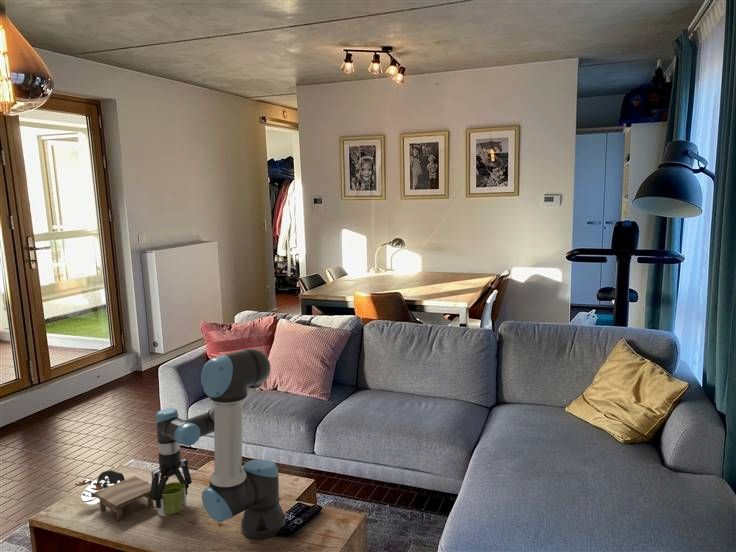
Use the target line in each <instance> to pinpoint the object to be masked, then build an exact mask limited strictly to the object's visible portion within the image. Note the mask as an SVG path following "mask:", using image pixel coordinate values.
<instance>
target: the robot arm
mask: <svg viewBox="0 0 736 552" xmlns="http://www.w3.org/2000/svg"><path fill="white" fill-rule="evenodd" d="M271 367H272V366H271V363H270V360H269V358H268V356H267V355H266V354H265V353H264V352H262V351H261V350H258V349H254V348H251V349H250V348H247V349H244V350H241V351H237V352H232V353H228V354H224V355H222V354H221V355H218V356H216V357H214V358H210V359H209V360H207V362H205V364H204V365H203V368H202V370H201V374H200V380H201V381H200V383H201V387H203V388H202V390H203V392H204V393H205V395H206V396H208V397H209V400H210V401H211V402H212V403H214V404H213V405H212V407H210V409H209V410H208V411H207V412H205V413H201V414H199V415H196V416H193V417H190V418H188V419H182V418H179V413H178V409H176V408H174V407H170V408H169V407H168V408H163V409H160V410H159V411H157V412H156V414H155V416H156V418H155V424H156V426H155V427H156V436H157V437H156V438H157V451H158V455H157V456H158V464H159V467H158V469H157V470H156V471H154V470H152V471H151V473H150V474H151V483H150V484H151V492H150V499H152V500H153V502H154V501H155V507H156V508H157V512H158V515H159V516H161V518H162V517H163V518H164V517H165V512H164V501H163V498H162V494H163V491H164V488H165V485H166V484H167V483H168V481H169V478H170V477H172V476H175V477H176V479H177V480H178V482H180V483H182V484H185V488H184V492H183V499H182V506H187V496H188V494H189V493H188V489H189V488H190V485H191V484H192V483H193V481H192V477H191V473H190V469H189V466H188V465H189V460H188V459H185V458H182V459H181V450H180V449H181V445H184V446H187V447H190V446H193V445H195V444H196V443H197V442H198V441H199V439H201V438H202V437H205V436H206V435H210V434H212V433H213V434H214V442H213V443H214V446H213V447H214V449H213V450H214V472H212V473H211V474H210V476H209V486H207V487H205V489H203V490H202V493H201V502H202V505H203V508H204V510H205V511H206V514H207V515H208V516H209V517H210V519H212V520H213V521H215V522H218V523H222V522H225V521H227V520H231V519H232V518H233V517H235V516H238V514H241V513H242V512H243V515H242V516H243V517H242V518H241V520H240V521H241V522H240V531H241V533H242V535H243V536H245V537H246V538H250V539H254V540H263V539H268V538H269V539H270V538H272V537H274V536H276V535H277V534H276V533H277V532H278V531H279V530H280V529H281V528H282V527H283V525H284V523H285V524H286V516H285V514H284V511H283V508H282V506H281V504H280V491H279V490H280V489H279V488H280V487H279V485H280V484H279V483H280V482H279V475H280V474H279V469H278V465H277V463H276V462H274V461H272V460H269V459H264V458H263V459H262V458H261V459H260V458H259V459H258V458H257V459H251V460H248V461H246V462H244V463H243V403H244V402H245V400H247V398H249V396H250V395H251V394H252V392H254V390H256V389H259V388H261V387H262V385H264V383H265V382H266V381H267V380H268V378H269V377H270V373H271V369H272V368H271ZM180 468H181V470H182V473H181V470H180ZM182 474H183V475H182Z"/></svg>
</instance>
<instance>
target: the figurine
mask: <svg viewBox="0 0 736 552" xmlns="http://www.w3.org/2000/svg"><path fill="white" fill-rule="evenodd" d="M124 480H126V479H125V477H124V474H123V472H118V471H114V470H111V469H110V470H106V471H102V472H100V474H99V475H98V477H97V480H96V479H94V480H91V479H90V478H86V481H85V480H83V481H82V482H81V481H79V483H75V484H74V485H75V486H76V487H82V486H85V485H87V484H89V485H87V487H86V488H84V489H83V491H82V493H81V495H80V499H81V501H82V502H83V503H84V504H87V505H96V504H98V503H100V499H99V498H97V497H95V496H94V493H95V492H97V491H99V490H102V489H104V488H107V487H109V486H112V485H114V484H116V483H119V482H121V481H124Z"/></svg>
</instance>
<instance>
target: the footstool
mask: <svg viewBox="0 0 736 552" xmlns="http://www.w3.org/2000/svg"><path fill="white" fill-rule="evenodd" d="M151 484H152V483H150V482H148V481H145V480H143V479H142V478H140V477H138V476H135V475H134V476H131V477H129V478H126V479H125V480H124V481H121V482H119V483H116V484H114V485H112V486H109V487H107V488H104V489H102V490H99V491H97V492H95V493H94V496H95V497H97V498H99V499H100V501H99V507H100V508H99V509H100V512H105V511H106V510H107V508H108V509H109V510H111V511H113V512H115V513H116V521H117V522H121V521H123V507H124V506H126V505H128V504H131V503H133V502H135V501H136V500H139V499H142V498H143V497H144V498H146V499H147V507H148V506H149V507H148V508H151V506H152V507H153V506H154V500H152V499H150V492H151Z"/></svg>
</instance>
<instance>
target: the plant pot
mask: <svg viewBox="0 0 736 552" xmlns="http://www.w3.org/2000/svg"><path fill="white" fill-rule="evenodd" d="M184 488H185V484H182V483H180V482H179V481H174V482H173V481H172V482H167V483H166V485H165V488H164V491H163V494H162V498H163V501H164V514H166V515H173V514H177V513H180V512H181V510H182V508H183V504H182V499H183V492H184Z"/></svg>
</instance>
